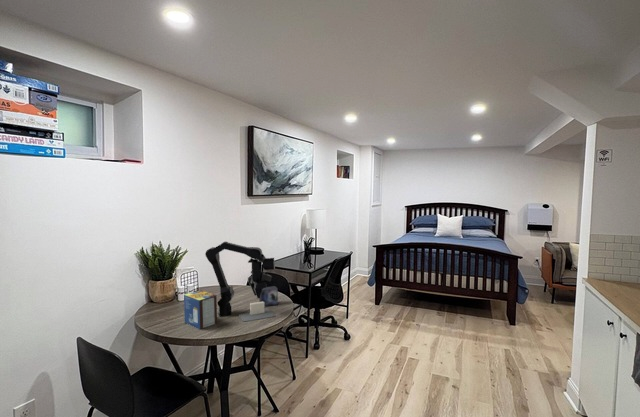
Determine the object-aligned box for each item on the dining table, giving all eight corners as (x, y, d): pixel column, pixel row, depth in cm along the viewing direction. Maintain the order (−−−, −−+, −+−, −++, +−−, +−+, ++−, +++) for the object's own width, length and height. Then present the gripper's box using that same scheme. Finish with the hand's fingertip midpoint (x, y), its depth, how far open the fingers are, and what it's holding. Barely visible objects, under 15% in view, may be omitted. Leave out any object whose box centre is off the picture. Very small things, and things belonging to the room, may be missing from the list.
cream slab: (250, 314, 192) (250, 304, 192) (249, 313, 194) (249, 303, 194) (264, 312, 196) (264, 302, 196) (263, 311, 198) (263, 301, 198)
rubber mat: (243, 322, 183) (243, 321, 183) (238, 315, 193) (238, 314, 193) (275, 316, 191) (275, 315, 191) (268, 310, 201) (268, 309, 201)
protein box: (201, 317, 190) (201, 290, 190) (217, 323, 180) (217, 295, 180) (184, 322, 182) (183, 294, 181) (199, 330, 172) (199, 299, 172)
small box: (261, 307, 207) (261, 290, 206) (259, 304, 213) (258, 287, 212) (278, 305, 211) (278, 288, 210) (275, 302, 217) (275, 285, 216)
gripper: (275, 271, 189) (275, 299, 190) (265, 265, 206) (265, 290, 207) (255, 273, 184) (256, 302, 185) (247, 267, 201) (247, 293, 202)
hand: (257, 296), depth 195 cm, fingers open, 6 cm apart
